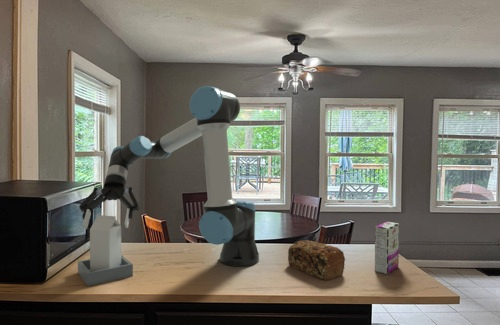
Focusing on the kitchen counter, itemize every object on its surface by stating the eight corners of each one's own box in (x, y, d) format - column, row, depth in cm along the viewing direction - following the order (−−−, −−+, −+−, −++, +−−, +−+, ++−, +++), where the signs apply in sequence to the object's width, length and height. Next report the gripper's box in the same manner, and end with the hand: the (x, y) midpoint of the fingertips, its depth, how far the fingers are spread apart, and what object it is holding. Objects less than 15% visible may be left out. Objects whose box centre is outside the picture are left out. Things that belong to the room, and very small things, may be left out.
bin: (132, 275, 111) (132, 264, 110) (87, 286, 102) (87, 273, 102) (119, 264, 122) (119, 253, 121) (77, 272, 113) (77, 261, 113)
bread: (345, 276, 113) (346, 247, 113) (323, 282, 107) (324, 252, 107) (307, 260, 128) (307, 235, 128) (286, 265, 122) (286, 239, 122)
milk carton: (109, 275, 108) (109, 218, 107) (89, 274, 109) (89, 217, 108) (121, 268, 115) (121, 214, 114) (103, 266, 116) (102, 213, 115)
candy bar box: (385, 263, 125) (386, 221, 125) (398, 266, 122) (400, 223, 121) (373, 271, 117) (374, 225, 117) (387, 275, 114) (389, 228, 113)
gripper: (149, 185, 133) (144, 230, 119) (84, 185, 129) (70, 233, 115) (147, 173, 128) (141, 219, 113) (79, 173, 124) (63, 221, 109)
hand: (105, 226), depth 114 cm, fingers open, 13 cm apart
